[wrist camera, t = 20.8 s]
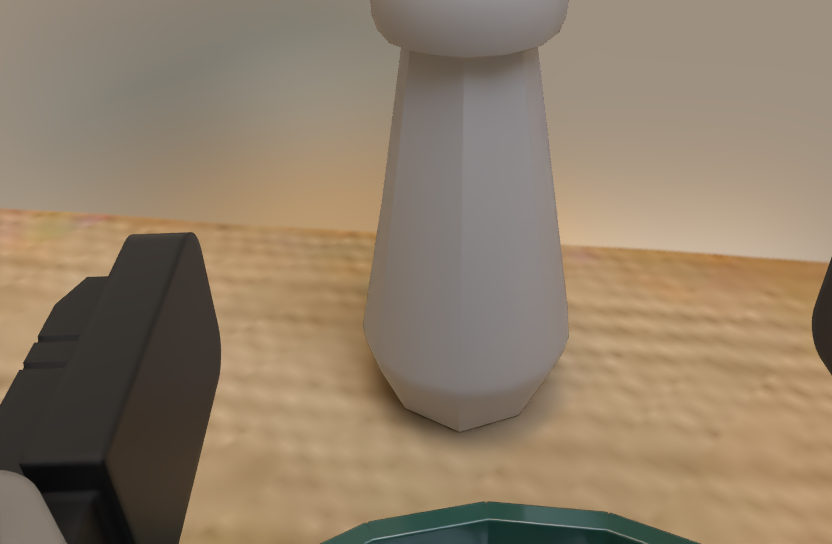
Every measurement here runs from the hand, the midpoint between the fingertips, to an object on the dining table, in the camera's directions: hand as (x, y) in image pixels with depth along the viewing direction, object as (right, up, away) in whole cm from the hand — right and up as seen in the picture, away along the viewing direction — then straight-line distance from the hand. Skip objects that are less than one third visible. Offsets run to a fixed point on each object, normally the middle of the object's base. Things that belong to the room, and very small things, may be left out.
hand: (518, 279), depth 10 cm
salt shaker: (0, -3, +14) cm, 14 cm away
